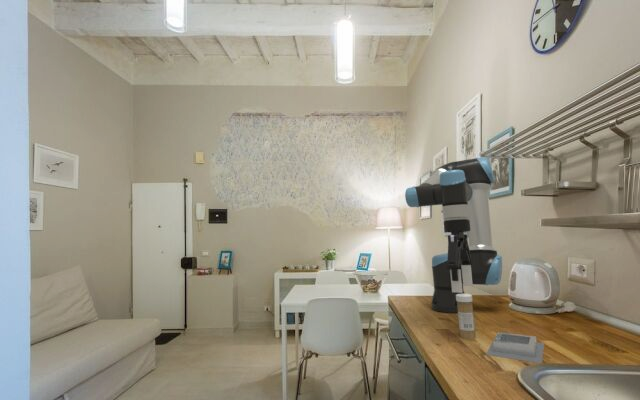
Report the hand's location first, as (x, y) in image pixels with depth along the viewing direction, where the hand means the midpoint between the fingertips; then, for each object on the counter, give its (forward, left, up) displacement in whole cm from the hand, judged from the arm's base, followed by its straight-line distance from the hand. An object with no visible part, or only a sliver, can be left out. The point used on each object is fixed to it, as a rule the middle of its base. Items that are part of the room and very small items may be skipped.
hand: (462, 288), depth 99 cm
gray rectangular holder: (+5, +13, -15) cm, 21 cm away
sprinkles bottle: (0, 0, -15) cm, 15 cm away
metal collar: (+5, +13, -14) cm, 20 cm away
